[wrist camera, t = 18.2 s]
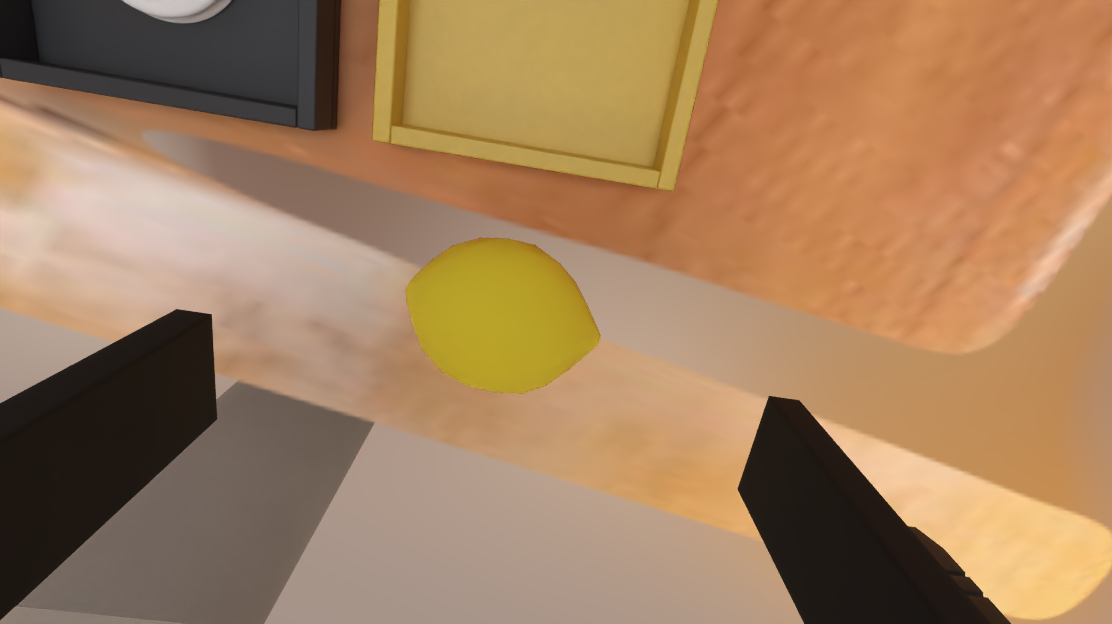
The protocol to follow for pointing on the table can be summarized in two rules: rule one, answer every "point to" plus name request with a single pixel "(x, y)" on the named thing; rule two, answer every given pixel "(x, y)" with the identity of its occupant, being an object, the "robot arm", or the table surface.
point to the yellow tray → (544, 82)
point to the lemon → (500, 315)
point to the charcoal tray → (184, 56)
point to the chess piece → (179, 9)
